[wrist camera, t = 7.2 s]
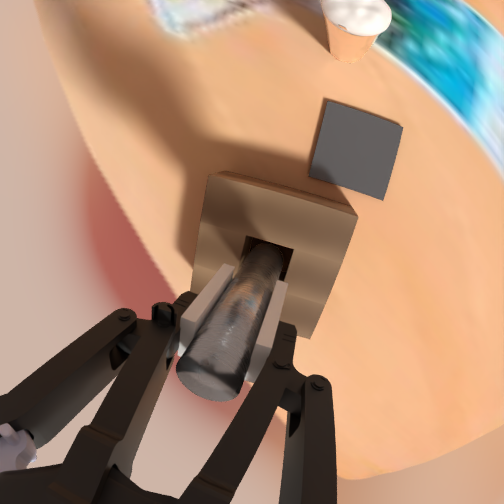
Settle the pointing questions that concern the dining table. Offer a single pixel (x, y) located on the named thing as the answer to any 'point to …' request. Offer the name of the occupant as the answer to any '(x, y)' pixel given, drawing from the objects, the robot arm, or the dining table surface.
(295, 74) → the dining table surface
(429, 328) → the dining table surface
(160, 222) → the dining table surface
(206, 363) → the pin
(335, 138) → the mat
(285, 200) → the hole block
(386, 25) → the milkshake
